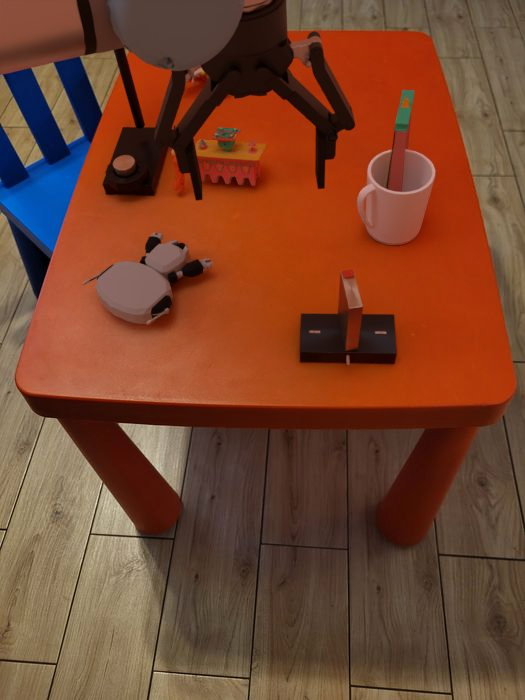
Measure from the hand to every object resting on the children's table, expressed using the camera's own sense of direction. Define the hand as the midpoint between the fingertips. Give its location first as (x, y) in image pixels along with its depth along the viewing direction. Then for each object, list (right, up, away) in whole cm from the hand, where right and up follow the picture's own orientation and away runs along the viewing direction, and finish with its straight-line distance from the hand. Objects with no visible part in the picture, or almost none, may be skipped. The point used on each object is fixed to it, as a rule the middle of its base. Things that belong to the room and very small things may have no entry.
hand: (259, 186), depth 68 cm
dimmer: (+11, -18, +11) cm, 24 cm away
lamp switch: (-21, +10, +27) cm, 35 cm away
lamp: (-19, +22, +34) cm, 45 cm away
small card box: (+11, -16, +9) cm, 22 cm away
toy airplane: (-9, +30, +44) cm, 54 cm away
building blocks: (+4, +7, +27) cm, 28 cm away
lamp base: (-20, +12, +33) cm, 40 cm away
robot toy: (-15, -10, +19) cm, 26 cm away
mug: (+19, -1, +22) cm, 29 cm away
